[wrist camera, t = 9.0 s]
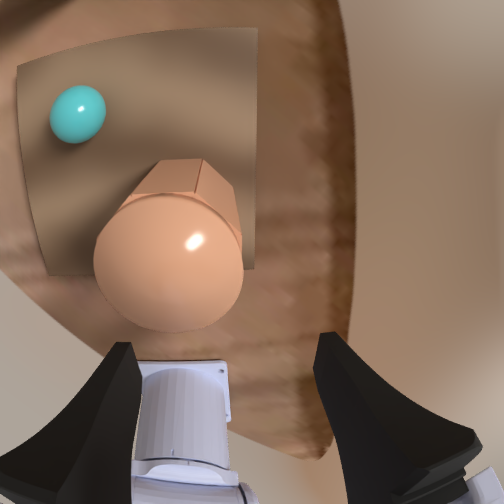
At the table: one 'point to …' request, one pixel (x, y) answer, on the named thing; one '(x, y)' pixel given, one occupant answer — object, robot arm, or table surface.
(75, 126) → the teal ball
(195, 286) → the faceted octagonal canister
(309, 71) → the table surface
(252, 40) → the walnut board
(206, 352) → the table surface
